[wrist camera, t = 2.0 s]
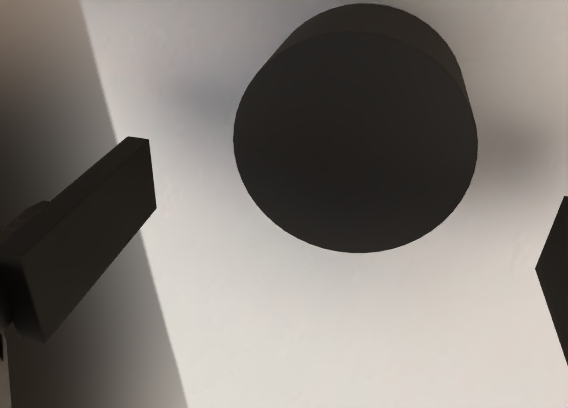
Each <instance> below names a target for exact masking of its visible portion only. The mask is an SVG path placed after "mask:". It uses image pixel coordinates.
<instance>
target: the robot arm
mask: <svg viewBox="0 0 568 408" xmlns="http://www.w3.org/2000/svg"><path fill="white" fill-rule="evenodd" d="M156 208H157V207H156V198H155V189H154V180H153V171H152V163H151V154H150V145H149V139H143V138H136V137H129V136H128V137H127V138H125V139H124V140H123V141H122V142H121V143H119V144H118V145H117V146H116V147H115V148H113V149H112V150H111V151H110V152H109V153H107V154H106V155H105V156H104V157H103V158H102V159H100V160H99V161H98V162H97V163H95V164H94V165H93V166H92V167H91V168H90V169H88V170H87V171H86V172H85V173H84V174H82V175H81V176H80V177H79V178H78V179H76V180H75V181H74V182H73V183H72V184H71V185H69V186H68V187H67V188H66V189H64V190H63V191H62V192H61V193H60V194H59V195H57V196H56V197H55V198H54V199H52V200H51V201H50V202H49V201H42V202H40V203H37V204H35V205H33V206H31V207H29V208H27V209H25V210H24V211H23V212H21V213H20V214H19V215H18V216H17V217H15V218H14V219H13V221H10V222H9V223H8V224H6V225H5V226H4V227H3V230H1V229H0V408H11V397H10V386H9V373H8V360H7V347H6V340H5V337H4V334H3V331H4V330H5V329H6V328H7V327H8V326H9V325H10V323H11V322H12V321H13V322H14V325H15V328H16V331H17V334H18V337H19V338H23V339H28V340H33V341H38V342H42V343H46V342H47V341H48V339H49V338H50V337H51V336H52V335H53V333H54V332H55V331H56V330H57V329H58V327H59V326H60V325H61V324H62V322H63V321H64V320H65V319H66V318H67V316H68V315H69V314H70V313H71V312H72V310H73V309H74V308H75V307H76V306H77V304H78V303H79V302H80V301H81V299H82V298H83V297H84V296H85V295H86V293H87V292H88V291H89V290H90V289H91V287H92V286H93V285H94V284H95V282H96V281H97V280H98V279H99V277H100V276H101V275H102V274H103V273H104V271H105V270H106V269H107V268H108V267H109V265H110V264H111V263H112V262H113V261H114V259H115V258H116V257H117V256H118V254H119V253H120V252H121V251H122V249H123V248H124V247H125V246H126V245H127V243H128V242H129V241H130V240H131V239H132V237H133V236H134V235H135V234H136V233H137V231H138V230H139V229H140V228H141V227H142V225H143V224H144V223H145V222H146V220H147V219H148V218H149V217H150V216H151V214H152V213H153V212H154V211H155V210H156ZM535 270H536V273H537V276H538V279H539V282H540V285H541V288H542V291H543V294H544V297H545V299H546V302H547V305H548V308H549V311H550V314H551V317H552V320H553V323H554V326H555V329H556V332H557V335H558V338H559V341H560V344H561V347H562V350H563V353H564V356H565V359H566V362H567V365H568V196H564V198H563V200H562V203H561V205H560V208H559V210H558V213H557V215H556V218H555V220H554V223H553V225H552V228H551V230H550V233H549V235H548V238H547V240H546V243H545V245H544V248H543V250H542V253H541V255H540V258H539V260H538V263H537V265H536V268H535Z"/></svg>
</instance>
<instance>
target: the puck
mask: <svg viewBox="0 0 568 408" xmlns="http://www.w3.org/2000/svg"><path fill="white" fill-rule="evenodd" d="M233 143H234V154H235V159H236V163H237V168H238V171H239V173H240V176H241V179H242V181H243V183H244V185H245V187H246V189H247V191H248V193H249V194H250V196H251V197H252V199H253V200H254V202H255V203H256V205H257V206H258V207H259V208H260V209H261V210H262V211H263V213H264V214H265V215H266V216H267V217H268V218H270V219H271V220H272V221H273V222H274V223H275V224H276V225H278V226H279V227H280V228H282V229H283V230H284V231H286V232H288V233H289V234H291V235H293V236H294V237H296V238H298V239H300V240H302V241H305V242H307V243H309V244H312V245H315V246H318V247H321V248H324V249H329V250H333V251H339V252H348V253H370V252H380V251H384V250H389V249H394V248H397V247H400V246H403V245H406V244H408V243H410V242H412V241H415V240H417V239H419V238H421V237H422V236H424V235H426V234H427V233H429V232H431V231H432V230H433V229H435V228H436V227H437V226H438V225H440V224H441V223H442V222H443V221H444V220H445V219H446V218H447V217H448V216H449V215H450V214H451V213H452V212H453V211H454V209H455V208H456V207H457V205H458V204H459V203H460V201H461V200H462V198H463V196H464V195H465V193H466V191H467V189H468V187H469V185H470V182H471V179H472V177H473V174H474V170H475V165H476V161H477V150H478V139H477V129H476V124H475V120H474V116H473V112H472V109H471V105H470V102H469V98H468V94H467V91H466V87H465V84H464V80H463V76H462V73H461V69H460V67H459V65H458V62H457V60H456V58H455V56H454V54H453V52H452V51H451V49H450V48H449V46H448V44H447V43H446V42H445V41H444V40H443V39H442V37H441V36H440V35H439V34H438V33H437V32H436V31H435V30H434V29H432V28H431V27H430V26H429V25H428V24H426V23H425V22H423V21H422V20H420V19H419V18H417V17H416V16H414V15H411V14H409V13H407V12H405V11H403V10H400V9H396V8H393V7H390V6H385V5H378V4H352V5H344V6H341V7H337V8H333V9H330V10H328V11H325V12H323V13H320V14H318V15H316V16H315V17H313V18H311V19H309V20H308V21H306V22H305V23H303V24H302V25H301V26H300V27H298V28H297V29H296V30H295V31H294V32H293V33H292V34H291V35H290V36H289V37H288V38H287V39H286V40H285V41H284V42H283V44H282V45H281V46H280V47H279V48H278V49H277V51H276V52H275V53H274V54H273V55H272V56H271V58H270V59H269V60H268V61H267V62H266V63H265V65H264V66H263V67H262V68H261V69H260V70H259V72H258V73H257V74H256V75H255V77H254V78H253V80H252V81H251V82H250V84H249V85H248V87H247V89H246V91H245V93H244V95H243V97H242V98H241V101H240V104H239V107H238V110H237V113H236V118H235V123H234V135H233Z"/></svg>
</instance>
